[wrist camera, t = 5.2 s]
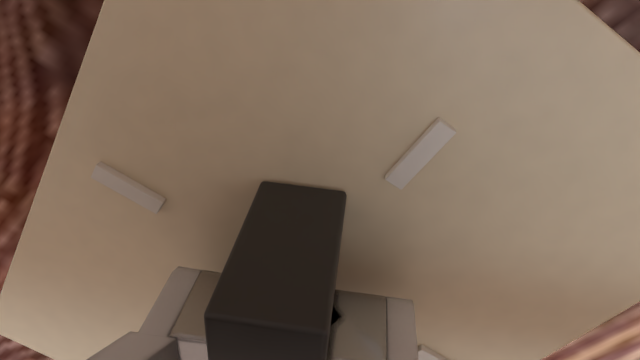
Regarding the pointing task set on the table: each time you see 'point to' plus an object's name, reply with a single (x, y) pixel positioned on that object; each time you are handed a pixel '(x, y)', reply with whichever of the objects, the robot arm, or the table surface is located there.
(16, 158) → the table surface
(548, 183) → the panel
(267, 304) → the charcoal bar red cap
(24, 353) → the table surface
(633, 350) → the table surface
